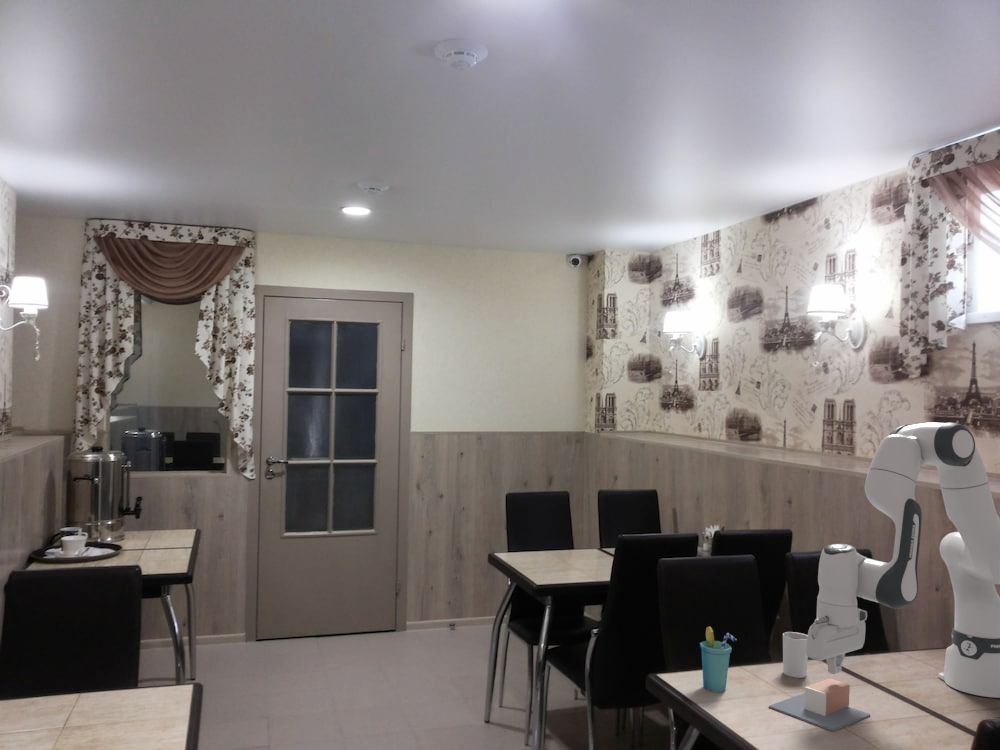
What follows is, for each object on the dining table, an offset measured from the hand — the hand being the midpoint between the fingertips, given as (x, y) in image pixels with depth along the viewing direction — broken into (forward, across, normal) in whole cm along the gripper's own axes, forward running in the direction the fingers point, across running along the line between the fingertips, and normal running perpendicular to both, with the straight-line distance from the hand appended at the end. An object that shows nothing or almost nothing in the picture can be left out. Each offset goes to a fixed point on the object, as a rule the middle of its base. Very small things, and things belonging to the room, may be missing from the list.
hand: (834, 672), depth 193 cm
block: (+5, +2, 0) cm, 5 cm away
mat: (+8, -6, 0) cm, 10 cm away
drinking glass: (+8, +12, +18) cm, 23 cm away
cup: (+8, -16, +22) cm, 28 cm away
